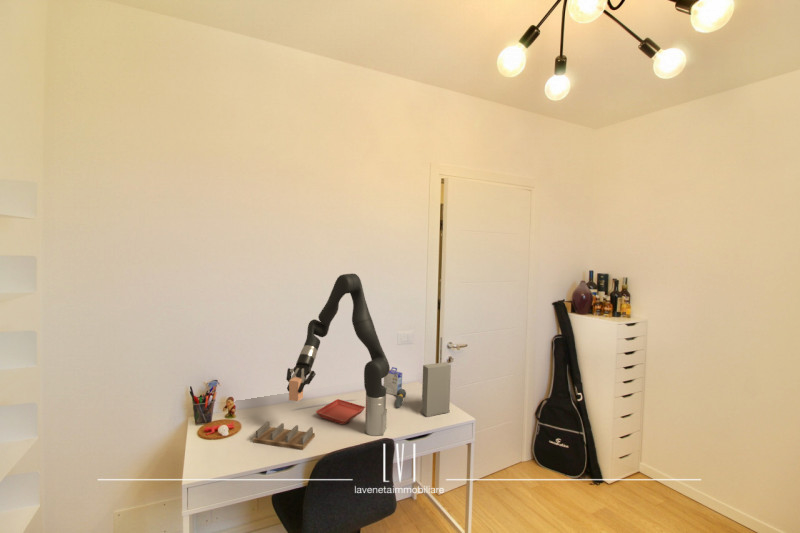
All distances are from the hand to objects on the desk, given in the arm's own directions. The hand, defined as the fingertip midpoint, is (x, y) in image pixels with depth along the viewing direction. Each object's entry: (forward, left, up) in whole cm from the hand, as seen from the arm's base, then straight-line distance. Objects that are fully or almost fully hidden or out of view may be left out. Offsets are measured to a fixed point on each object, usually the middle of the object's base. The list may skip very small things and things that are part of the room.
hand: (294, 391), depth 157 cm
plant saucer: (-14, -22, -19) cm, 33 cm away
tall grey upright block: (-60, -37, -19) cm, 73 cm away
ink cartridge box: (-33, -56, -19) cm, 68 cm away
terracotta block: (0, -2, -4) cm, 5 cm away
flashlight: (-40, -45, -19) cm, 64 cm away
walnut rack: (+1, +6, -19) cm, 20 cm away
